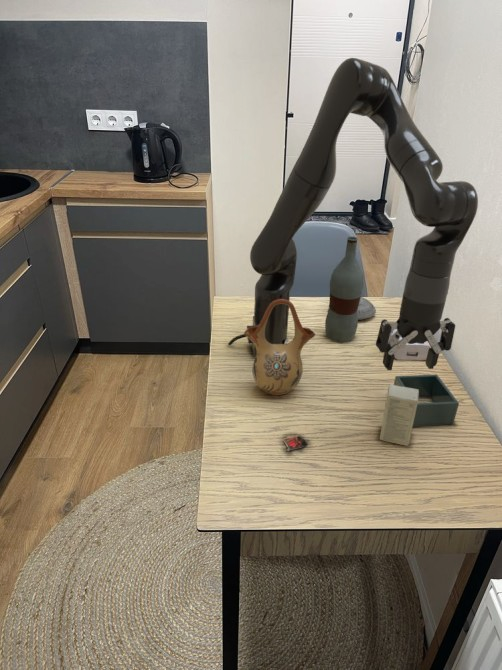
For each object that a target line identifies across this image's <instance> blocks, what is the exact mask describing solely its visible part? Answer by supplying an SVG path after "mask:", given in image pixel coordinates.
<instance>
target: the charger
mask: <svg viewBox="0 0 502 670" xmlns="http://www.w3.org/2000/svg"><path fill="white" fill-rule="evenodd" d="M396 331H397V329H394V330H393V333H392V334H390V337H389V340H390V339H391V337H392V335H393V334H394V333H395V332H396ZM401 339H402V337H400V338H399V340H401ZM389 340H388V341H389ZM429 348H431V346H430V345H429V343H428V342H427V341H426V342H424V344H420V343H414V344H408V343H407V344H406V345H405V346H404V347H403V348H399V349H398V350H397V351H396V352H395V353H394V355H395V357H394V359H396V360H398V361H399V360H401V361H426V358H427V354H428V350H429Z"/></svg>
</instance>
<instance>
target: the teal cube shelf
mask: <svg viewBox="0 0 502 670" xmlns="http://www.w3.org/2000/svg"><path fill="white" fill-rule="evenodd" d="M393 385H397V386H403V387H408V388H413V389H418V390H419V396H418V398H423V397H430V398H431V399H432V400H433V402H418V403H417V408H416V413H415V417H414V422H413V427H428V426H429V427H430V426H446V425H454V423H455V419H456V416H457V412H458V409H459V405H460V402H459V401H458V399H456V397H455V396H454V395H453V393H452V392H451V390H450V389H449V388H448V387H447V386H446V383H444V381H443V380H442V379H441V378H440V376H439V375H438V374H437V373H436V374H417V375H416V374H414V375H395V377H394V382H393Z"/></svg>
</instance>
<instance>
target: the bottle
mask: <svg viewBox="0 0 502 670" xmlns="http://www.w3.org/2000/svg"><path fill="white" fill-rule="evenodd" d="M358 240H359V239H358V237H356V236H348V237H347V238H346V248H345V254H344V257H343V258H342V259H341V260H340V262H339V263H338V264H337V265H336V266H335V268H334V269H333V271H332V273H331V276H330V280H329V304H328V311H327V313H326V317H325V322H324V323H325V324H324V326H325V328H324V329H325V331H324V332H325V335H326V338H327V339H328V340H330V341H332V342H336V343H340V344H341V343H343V344H344V343H349V342H351V341H353V339H354V337H355V335H356V333H357V329H358V323H359V322H358V321H359V320H358V314H357V310H358V306H359V302H360V297H362V294H363V289H364V279H365V277H364V274H363V271H362V269H361V267H360V264H359V262H358V260H357V258H356V255H357V245H358V244H357V243H358Z"/></svg>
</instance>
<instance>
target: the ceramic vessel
mask: <svg viewBox="0 0 502 670" xmlns="http://www.w3.org/2000/svg"><path fill="white" fill-rule="evenodd" d="M277 304H285V305H287V306H289V311H290V313H291V316H292V320H293V324H294V335H293V338H292V340H291V341H289V342H287V344H271V343H269V342H268V341H267V340H266V338H265V328H266V324H267V320H268V317H269V315H270V313H271V311H272V309H273V307H274V306H275V305H277ZM252 326H253V325H252ZM243 334H245V335H246V336H247V337H248V338H249V339H250V340H251V341H252V342H253V343H254V345H255V346H256V356H254V358H253V361H252V368H251V371H252V377H253V380H254V382H255V384H256V385H257V386H258V388H259V389H261V390H262V392H265V393H267V394H268V395H272V396H281V395H284V394H288V393H290V392H291V391H292V390H294V389H295V388H296V387H297V386H298V385H299V383H300V381H301V379H302V376H303V373H304V363H303V360H302V357H301V356H302V349H303V348H304V347H305V345H306V344H307V343H308V342H309V341H311V339H314V338H315V336H316V333H315V332H314V331H313V330H312V329H310V328H309V327H304V326H303V325H302V323H301V321H300V318H299V316H298V312H297V310H296V307H295V305H294V304H293V303H292V302H291V301H290V300H289V301H288V300H286V299H277V300H274V301H273V302H271V303H270V305H269V306H268V308H267V310H266V312H265V314H264V316H263V319H262V321H261V322H260V324H259V325H258V326H257V327H256V326H253V327H250V328H248V329H247V328H246V329H245V330H244V331H243ZM247 337H246V338H247ZM248 338H247V339H248Z"/></svg>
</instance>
